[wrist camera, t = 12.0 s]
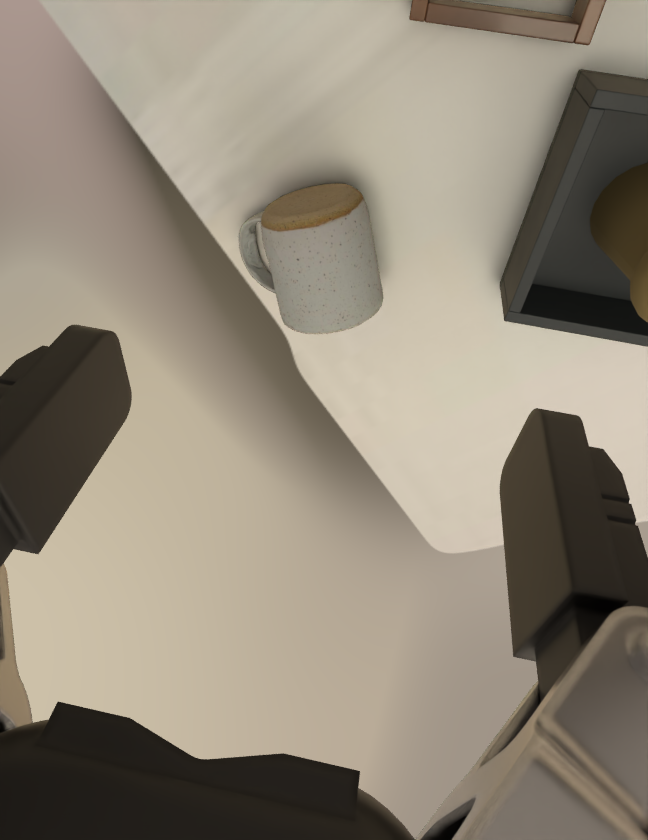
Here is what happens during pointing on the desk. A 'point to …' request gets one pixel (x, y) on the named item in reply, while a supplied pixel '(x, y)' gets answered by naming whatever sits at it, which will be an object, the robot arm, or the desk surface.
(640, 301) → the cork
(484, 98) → the desk surface
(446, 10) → the divided wooden tray
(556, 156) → the open box
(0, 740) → the robot arm
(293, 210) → the ceramic mug
